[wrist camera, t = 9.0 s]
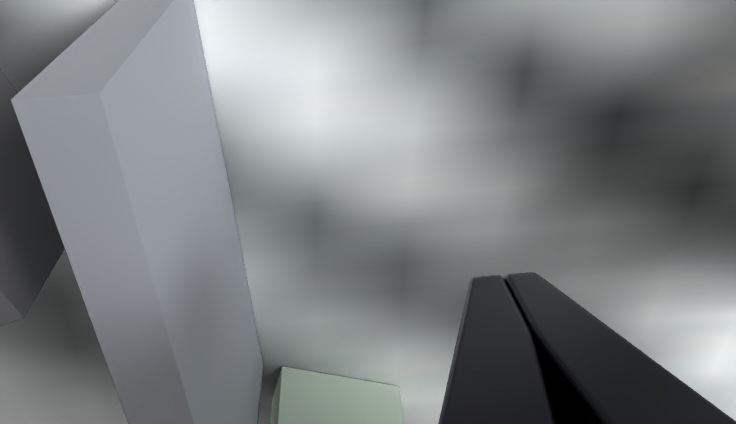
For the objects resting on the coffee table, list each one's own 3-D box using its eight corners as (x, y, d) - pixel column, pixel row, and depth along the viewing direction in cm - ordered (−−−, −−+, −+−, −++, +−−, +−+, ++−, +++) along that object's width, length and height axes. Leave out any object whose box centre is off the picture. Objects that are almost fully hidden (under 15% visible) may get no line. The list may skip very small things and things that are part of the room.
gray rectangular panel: (267, 386, 22) (243, 627, 15) (231, 389, 22) (192, 631, 15) (189, -20, 15) (88, 107, 8) (136, -16, 15) (-5, 113, 8)
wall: (399, 386, 22) (421, 560, 17) (385, 416, 23) (403, 591, 18) (-350, 257, 18) (-621, 436, 13) (-337, 299, 19) (-588, 484, 13)
